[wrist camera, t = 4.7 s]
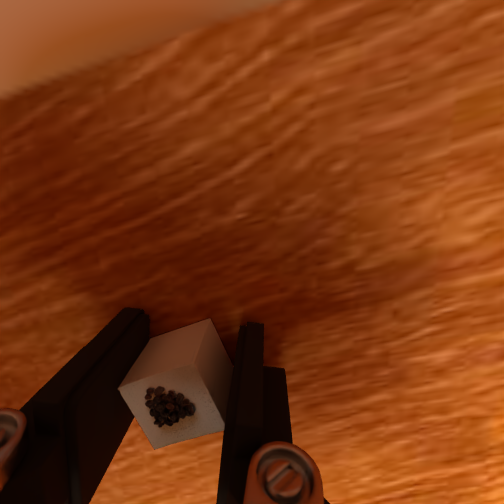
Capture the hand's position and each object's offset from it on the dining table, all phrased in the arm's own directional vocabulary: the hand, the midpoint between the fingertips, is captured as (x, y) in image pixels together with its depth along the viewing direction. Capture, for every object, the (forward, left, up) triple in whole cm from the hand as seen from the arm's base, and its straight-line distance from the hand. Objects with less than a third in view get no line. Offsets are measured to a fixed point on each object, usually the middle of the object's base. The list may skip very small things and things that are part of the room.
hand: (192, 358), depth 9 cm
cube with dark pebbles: (0, 0, 0) cm, 0 cm away
